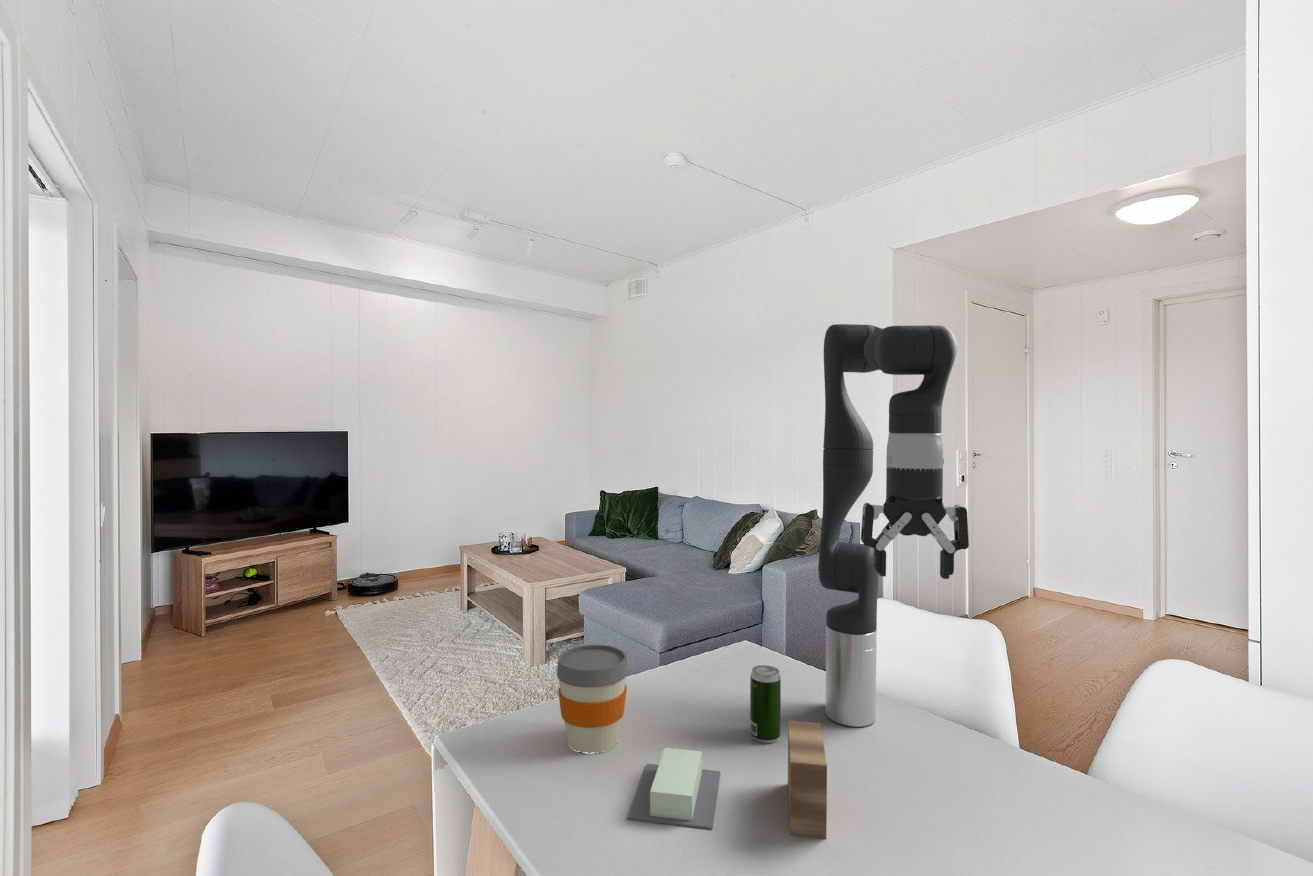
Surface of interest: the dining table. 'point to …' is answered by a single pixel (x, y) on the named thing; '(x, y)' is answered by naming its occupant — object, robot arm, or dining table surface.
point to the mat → (703, 804)
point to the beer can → (765, 704)
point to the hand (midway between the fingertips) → (912, 576)
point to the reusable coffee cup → (592, 695)
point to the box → (807, 780)
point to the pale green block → (676, 784)
